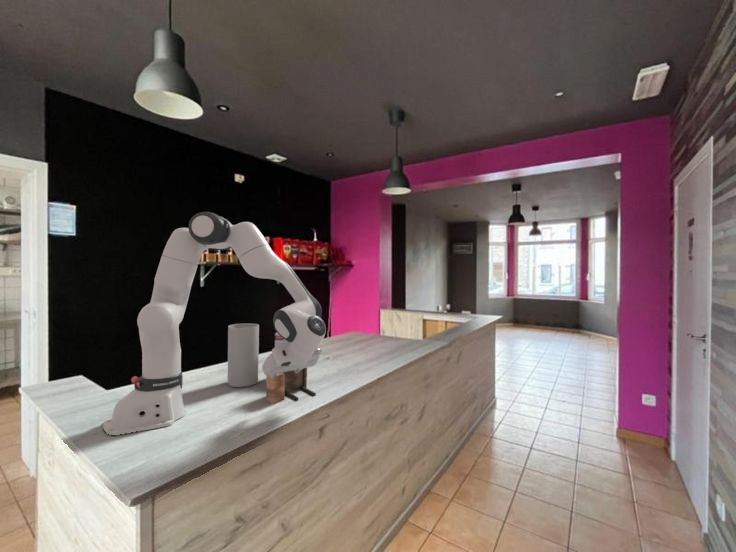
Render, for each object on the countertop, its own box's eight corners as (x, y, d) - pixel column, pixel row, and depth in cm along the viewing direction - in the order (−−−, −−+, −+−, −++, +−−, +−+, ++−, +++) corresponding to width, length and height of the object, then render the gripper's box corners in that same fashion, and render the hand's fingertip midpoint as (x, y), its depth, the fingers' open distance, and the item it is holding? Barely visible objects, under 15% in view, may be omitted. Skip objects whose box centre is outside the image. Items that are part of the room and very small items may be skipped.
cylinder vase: (262, 378, 155) (262, 323, 155) (252, 388, 143) (253, 328, 142) (234, 378, 155) (235, 323, 155) (222, 387, 143) (223, 327, 142)
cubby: (292, 401, 129) (293, 354, 129) (276, 392, 139) (277, 347, 138) (319, 394, 137) (320, 349, 137) (302, 385, 147) (302, 344, 147)
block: (272, 403, 127) (272, 376, 127) (266, 399, 131) (266, 373, 131) (284, 400, 131) (284, 374, 131) (278, 396, 134) (278, 370, 134)
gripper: (320, 341, 127) (305, 361, 134) (268, 348, 113) (255, 371, 121) (327, 355, 124) (311, 375, 131) (274, 365, 110) (260, 387, 117)
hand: (284, 373), depth 126 cm, fingers open, 8 cm apart
